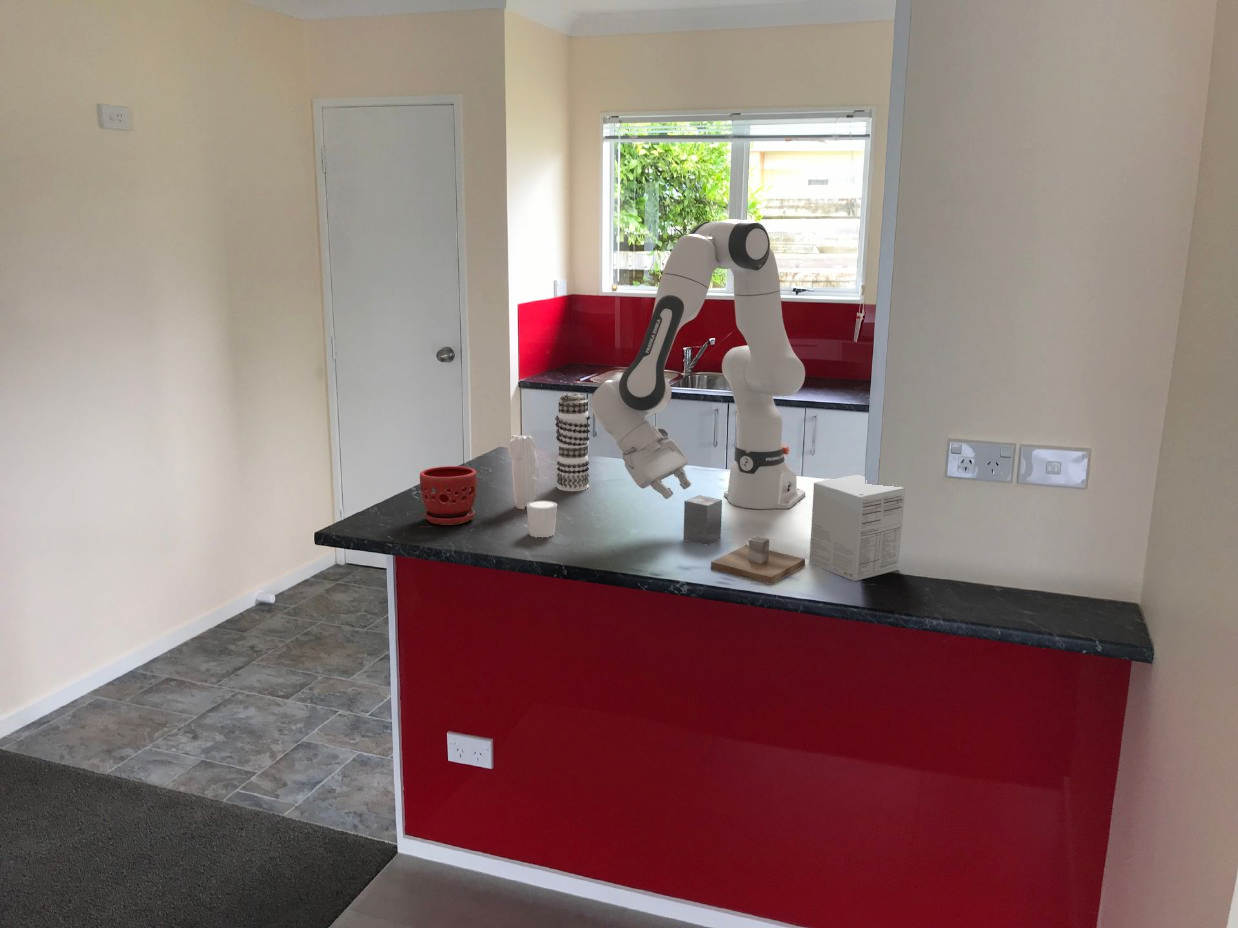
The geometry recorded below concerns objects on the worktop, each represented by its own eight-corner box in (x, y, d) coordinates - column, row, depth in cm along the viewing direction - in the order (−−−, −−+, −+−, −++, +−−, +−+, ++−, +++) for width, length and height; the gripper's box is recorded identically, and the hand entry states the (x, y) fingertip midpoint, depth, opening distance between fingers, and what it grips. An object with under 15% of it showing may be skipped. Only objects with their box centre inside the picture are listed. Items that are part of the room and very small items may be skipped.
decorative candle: (570, 480, 265) (569, 390, 259) (597, 486, 260) (597, 393, 254) (548, 487, 258) (547, 394, 252) (576, 493, 253) (575, 398, 247)
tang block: (746, 551, 209) (747, 524, 207) (804, 565, 200) (806, 537, 199) (710, 568, 198) (711, 540, 197) (771, 584, 190) (772, 555, 188)
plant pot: (489, 519, 230) (488, 470, 227) (444, 531, 220) (442, 480, 217) (454, 508, 238) (453, 461, 235) (410, 519, 229) (408, 470, 226)
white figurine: (513, 511, 236) (542, 509, 238) (511, 439, 232) (541, 437, 234) (506, 504, 242) (535, 501, 244) (504, 434, 238) (533, 432, 240)
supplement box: (900, 570, 198) (907, 487, 194) (854, 582, 191) (860, 496, 187) (852, 552, 209) (858, 473, 205) (807, 562, 202) (812, 481, 198)
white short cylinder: (533, 540, 215) (533, 509, 213) (522, 531, 221) (521, 502, 219) (562, 536, 218) (562, 506, 216) (550, 527, 224) (549, 498, 222)
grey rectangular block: (698, 533, 221) (699, 495, 219) (720, 538, 217) (722, 499, 215) (683, 539, 216) (684, 500, 214) (706, 545, 213) (707, 505, 211)
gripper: (628, 444, 209) (668, 494, 206) (669, 428, 226) (706, 474, 224) (610, 461, 212) (649, 511, 210) (652, 444, 229) (688, 490, 227)
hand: (679, 492), depth 217 cm, fingers open, 8 cm apart
